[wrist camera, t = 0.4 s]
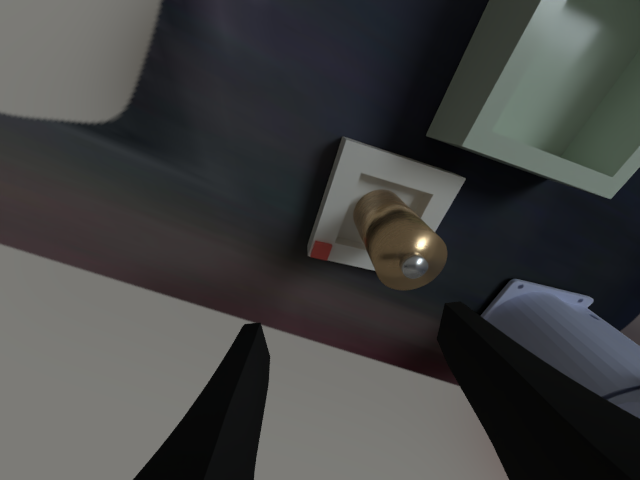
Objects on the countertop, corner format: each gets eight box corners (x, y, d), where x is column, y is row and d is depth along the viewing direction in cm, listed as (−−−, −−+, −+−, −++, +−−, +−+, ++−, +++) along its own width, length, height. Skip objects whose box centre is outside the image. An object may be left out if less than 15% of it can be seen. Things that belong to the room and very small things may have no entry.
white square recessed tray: (453, 172, 17) (469, 179, 15) (401, 266, 20) (409, 280, 19) (342, 136, 15) (347, 140, 14) (307, 245, 19) (307, 258, 17)
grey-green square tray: (685, -4, 13) (827, -42, 9) (548, 179, 17) (610, 199, 14) (535, -99, 11) (646, -193, 7) (425, 136, 15) (461, 146, 12)
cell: (411, 197, 17) (467, 245, 11) (389, 240, 18) (429, 302, 13) (364, 183, 16) (398, 227, 10) (346, 229, 18) (367, 289, 12)
